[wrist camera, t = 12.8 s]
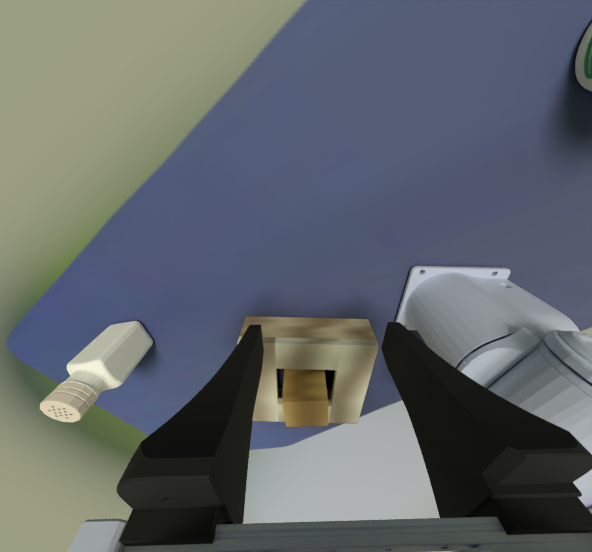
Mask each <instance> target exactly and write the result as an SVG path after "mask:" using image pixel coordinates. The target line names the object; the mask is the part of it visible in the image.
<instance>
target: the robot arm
mask: <svg viewBox="0 0 592 552" xmlns="http://www.w3.org/2000/svg"><path fill="white" fill-rule="evenodd" d="M421 270H423V272H421V273H420V271H421ZM493 272H494V273H493ZM492 273H493V274H492ZM509 275H510V270H509V269H507V268H489V267H442V266H415V267H413V268H412V269H411V271H410V274H409V277H408V281H407V284H406V287H405V291H404V294H403V297H402V301H401V304H400V307H399V310H398V314H397V317H396V320H395V322H388V325H387V328H386V332H385V336H384V340H383V344H382V347H381V348H382V352H383V355H384V358H385V361H386V364H387V367H388V369H389V371H390V374H391V376H392V378H393V380H394V382H395V385H396V387H397V389H398V391H399V393H400V395H401V398H402V400H403V402H404V404H405V406H406V408H407V411H408V414H409V416H410V419H411V422H412V425H413V428H414V431H415V434H416V437H417V440H418V443H419V445H420V449H421V451H422V455H423V458H424V462H425V465H426V468H427V472H428V475H429V478H430V482H431V486H432V489H433V493H434V496H435V500H436V504H437V508H438V512H439V516H440V518H431V519H430V518H429V519H395V520H361V521H326V522H291V523H290V522H289V523H255V524H242V523H243V516H244V504H245V491H246V479H247V469H248V458H249V448H250V438H251V429H252V420H253V413H254V407H255V402H256V397H257V392H258V387H259V382H260V377H261V372H262V365H263V354H264V347H263V338H262V329H261V324H258V325H249V326H248V328H247V330H246V332H245V333H244V335H243V337H242V338H241V340H240V341H239V343H238V345H237V346H236V347H235V349H234V350H233V352H232V353H231V355H230V356H229V358H228V359H227V360H226V361H225V363H224V364H223V365H222V367H221V368H220V369H219V370H218V372H217V373H216V374H215V375H214V376H213V378H212V379H211V380H210V381H209V382H208V383H207V384H206V385H205V386H204V387H203V388H202V389H201V391H200V392H199V393H198V394H197V395H196V396H195V397H194V398H193V399H192V400H191V401H190V402H189V403H187V404H186V405H185V406H184V407H183V408H182V409H181V410H180V411H179V412H177V413H176V414H175V415H174V416H173V417H172V418H171V419H170V420H168V421H167V422H166V423H165V424H163V425H162V426H161V427H160V428H158V429H157V430H156V431H155V432H153V433H152V434H151V435H150V436H148V437H147V438H146V439H145V440H143V441H142V442H141V444H140V445H139V447H138V449H137V450H136V452H135V453H134V455H133V457H132V458H131V460H130V462H129V464H128V466H127V468H126V470H125V472H124V474H123V476H122V478H121V480H120V481H119V483H118V485H117V493H118V495H119V496H120V497H121V498H122V499H123V500H124V501H125V502H126V503H127V504H128V505H129V506H131V508H133V510H132V513H131V515H130V517H129V519H128V521H126V520H121V519H99V520H98V519H95V520H86V521H85V522H83V524H82V526H81V527H80V529H79V531H78V533H77V535H76V537H75V538H74V540H73V542H72V544H71V545H70V547H69V549H68V551H67V552H428V551H453V552H592V336H589V335H587V334H584V333H581V332H580V331H579V329H578V328H577V327H576V325H575V324H574V323H573V322H572V321H571V320H570V319H569V318H568V317H567V316H565V315H564V314H562V313H561V312H559V311H558V310H556V309H554V308H553V307H551V306H550V305H548V304H546V303H545V302H543V301H541V300H540V299H538V298H537V297H535V296H533V295H532V294H530V293H528V292H527V291H525V290H523V289H522V288H520V287H519V286H517V285H515V284H514V283H512V282H510V281H509V280H507V278H508V277H509ZM403 325H405V326H403ZM409 330H417V331H418V333H419V334H420V336H421V337H422V339H423V340H424V342H425V344H426V345H427V346H426V345H425V344H424V343H423V342H422V341H420V340H419V339H418V338H417V337H416V336H415V335H413V334H412V333H411V332H410V331H409Z"/></svg>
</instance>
